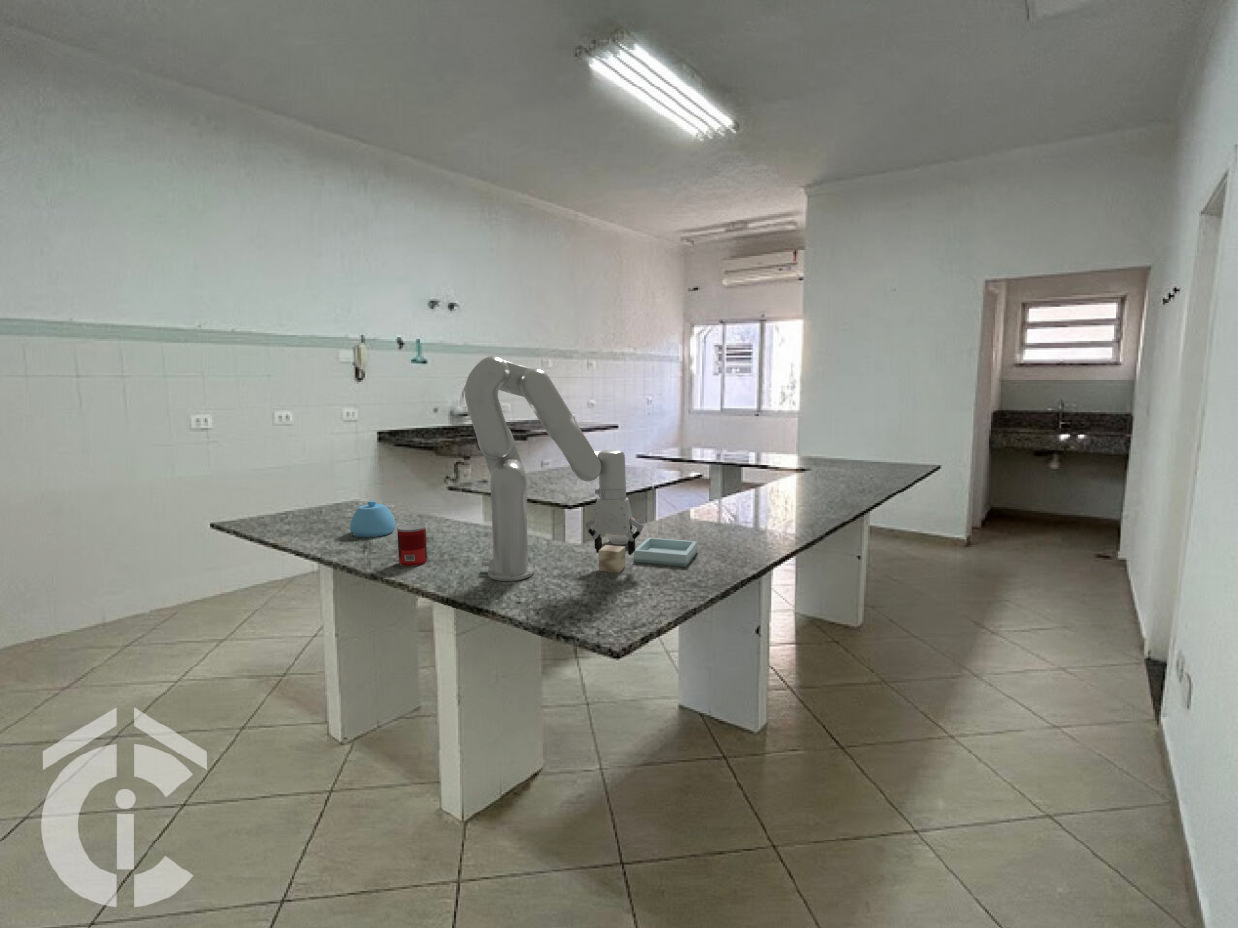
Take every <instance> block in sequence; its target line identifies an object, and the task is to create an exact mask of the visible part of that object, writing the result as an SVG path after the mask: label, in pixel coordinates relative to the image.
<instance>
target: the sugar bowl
mask: <svg viewBox="0 0 1238 928" xmlns="http://www.w3.org/2000/svg"><path fill="white" fill-rule="evenodd" d="M396 525H397V524H396V520H395V517H394V515H393V513H392V512H391V510H390V509H389V508H388V507H387V506H386V505H385V504H383V503H377V500H368V501H367V502H366V504H364V505H361V506H358V508H357V509H356V511H355V512H354V513H353V516H352V517H351V520H350V525H349V530H350V532H351V534H353V535H354V536H355V537H357V538H376V537H377V538H378V537H382V536H383V537H385V536H386V535H390V534H392V533H393V531H394V530H395V529H396Z"/></svg>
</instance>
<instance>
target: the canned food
mask: <svg viewBox="0 0 1238 928" xmlns="http://www.w3.org/2000/svg"><path fill="white" fill-rule="evenodd" d="M396 534H397V547H398V548H397V549H398V550H397V551H398V552H397V553H398V562H399V565H401V566H402V567H403V566H404V567H417V566H421V565H424V564H426V563H427V560H428V547H427V546H428V545H427V543H428V541H427V527H426V525H425V524H423V523H408V524H403V525H402V524H401V525H399V526H398V527H397V533H396Z"/></svg>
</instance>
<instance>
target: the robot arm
mask: <svg viewBox="0 0 1238 928" xmlns="http://www.w3.org/2000/svg"><path fill="white" fill-rule="evenodd" d="M464 386H465V387H464V398H465V403H466V408H467V411H468V414H469V418H470V419H471V420H470V421H471V423H472V428H473V430H474V432H475V436H476V439H477V444H478V447H479V450H480V451H481V453H482V455H483V456H484V460H485V464H486V466H487V468H488V471H489V473H490V474H489V475H490V481H489V482H490V501H491V502H490V503H491V526H492V527H491V530H492V532H491V533H492V557H489V556H483V557H482V561H481V566H485V567H489V569H488V570H487V576H488V578H490V579H492V580H494V581H495V580H496V581H499V582H503V581H504V582H513V581H519V580H521V581H522V580H525V579H528V578H531V577H532V576H533V575H534V574H535V572H534V571H535V569H534V567H533V566H531V565H529V548H528V546H529V545H528V544H529V543H528V541H529V539H528V511H527V510H528V509H527V508H528V506H527V505H528V504H527V503H528V500H527V498H528V494H527V492H528V481H527V480H528V479H527V474H526V471H525V469H524V465H523V462H522V460H521V457H520V454H519V451H518V448H517V444H516V442H515V438H514V436H513V432H512V431H511V428H510V427H508V424H507V421H506V419H505V416H504V413H503V409H502V406H501V403H500V401H499V400H500V399H499V391H501V392H505V393H507V394H512V395H515V396H517V397H518V396H519V397H523V398H524V399H525V400H526V402H527V404H528V405H529V406H530V408H531V409H532V411H533V413H534V415H535V416H536V417H537V419H538V421H539V422H540V424H541V426H542V427H543V429H544V430H545V432H546V433H547V435H548V436H549V438H551V440H552V441H553V443H555V444H556V445H557V447H558V449H560V451H561V453H562V454H563V457H565V459H566V461H567V463H568V464H569V466H570V469H571V471H572V472H573V473H574V475H575V476H576V477H577V478H578V479H580V481H584V482H592V481H594V480H596V479H597V478H598V483H599V484H598V487H599V488H598V489H594V494H595V495H598V498H597V499H596V502H595V503H596V504H595V511H594V518H593V519H590V520H589V521H587V522H585V523H584V526H585V527H586V530H587V531H588V533H589V535H590V536H591V537H592V539H593V540H594V550H595V553H597V554H599V550H600V549H601V548H602V547H603V540H602V539H603V538H602V536H601V535H605V534H607V535H626V536H627V537H628V539H629V541H628V543H627V552H628V553H627V554H628V555H629V556H631V555H632V554H634V551H635V549H636V539H637V538H638V537H639V536H640V535H641V533H642V531H643V529H644V527H645V526H644V524H643V523H640V522H639V521H637V520H636V521H635V520H634V519H632V518H633V515H632V509H631V503H630V500H629V497H627V479H626V455H625V453H624V452H623V450H619V449H608V450H602V451H599V450H597V451H596V450H594V449H593V447H592V445H591V443H590V442H589V440H588V438H587V437H586V436H585V434H584V432H583V431H582V430H581V428H580V426H579V424H578V423H577V420H576V418H575V417H574V415H573V413H572V412H571V410H570V409H569V407H568V405H567V404H566V402H565V401H564V399H563V398H562V396H561V394H560V393H559V391H558V389H557V388H556V386H555V384H554V383H553V381H552V379H551V378H550V376H549V375H548V374H547V372H545V371H544V370H542V369H540V368H531V367H528V366H525V365H520V364H517V363H515V362H510V361H507V360H505V359H502V358H501V357H499V356H496V355H495V356H494V355H489V356H486V357H485V358H483V359H481V360H480V361H479V362H477V363H476V365H475V366H474V367H473V368H472V370H470V373H469V374H468V376H467V379H466V382H465V385H464ZM593 525H594V527H593ZM632 525H633V526H635V528H636V530H635V533H633V531H632Z"/></svg>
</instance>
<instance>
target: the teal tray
mask: <svg viewBox="0 0 1238 928" xmlns="http://www.w3.org/2000/svg"><path fill="white" fill-rule="evenodd" d="M697 553H698V541H697V540H686V539H672V538H661V537H646V538H645V540H643V541H642V542H641V543H640V544H639V545H638V546H636V547H635V551H634V552H633V562H634V563H641V564H643V563H644V564H654V565H665V566H673V567H674V566H675V567H684V568H685V567H688V566H689V564H690V563H691V562H692V560H693V558H695V556H696V555H697Z"/></svg>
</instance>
